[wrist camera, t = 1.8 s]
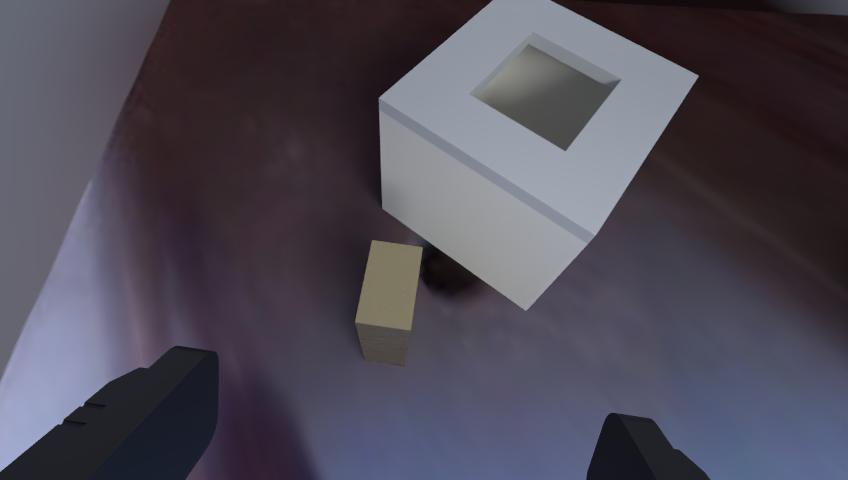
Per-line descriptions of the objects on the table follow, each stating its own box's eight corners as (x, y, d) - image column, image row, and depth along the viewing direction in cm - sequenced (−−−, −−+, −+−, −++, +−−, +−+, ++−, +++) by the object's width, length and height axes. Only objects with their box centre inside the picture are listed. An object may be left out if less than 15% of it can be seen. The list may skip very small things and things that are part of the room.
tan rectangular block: (414, 302, 34) (422, 247, 25) (405, 366, 32) (410, 330, 23) (376, 297, 34) (372, 240, 25) (364, 360, 31) (354, 322, 23)
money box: (611, 184, 41) (698, 75, 29) (526, 310, 34) (595, 235, 23) (481, 107, 44) (514, -18, 32) (382, 208, 38) (378, 98, 26)
